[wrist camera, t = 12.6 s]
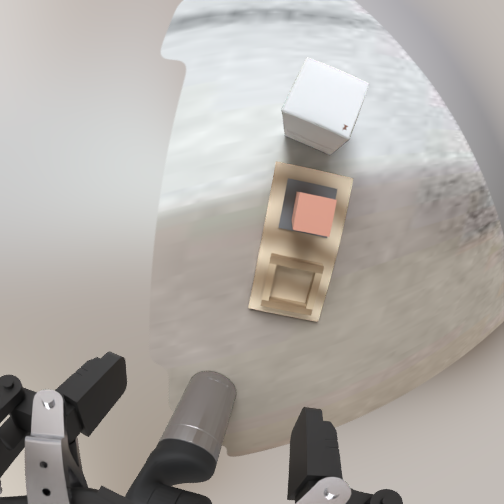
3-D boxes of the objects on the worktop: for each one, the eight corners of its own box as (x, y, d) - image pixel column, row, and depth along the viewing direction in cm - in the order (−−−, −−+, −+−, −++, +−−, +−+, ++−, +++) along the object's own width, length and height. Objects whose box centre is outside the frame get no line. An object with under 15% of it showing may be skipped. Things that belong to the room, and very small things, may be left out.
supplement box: (348, 113, 34) (372, 83, 22) (330, 156, 36) (349, 142, 24) (301, 92, 34) (306, 54, 22) (282, 135, 36) (279, 111, 24)
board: (317, 318, 41) (319, 327, 39) (249, 305, 42) (246, 313, 39) (351, 178, 36) (356, 178, 33) (276, 162, 37) (275, 160, 34)
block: (319, 225, 37) (329, 236, 28) (291, 219, 37) (292, 229, 28) (325, 197, 36) (336, 200, 27) (296, 191, 36) (299, 192, 28)
